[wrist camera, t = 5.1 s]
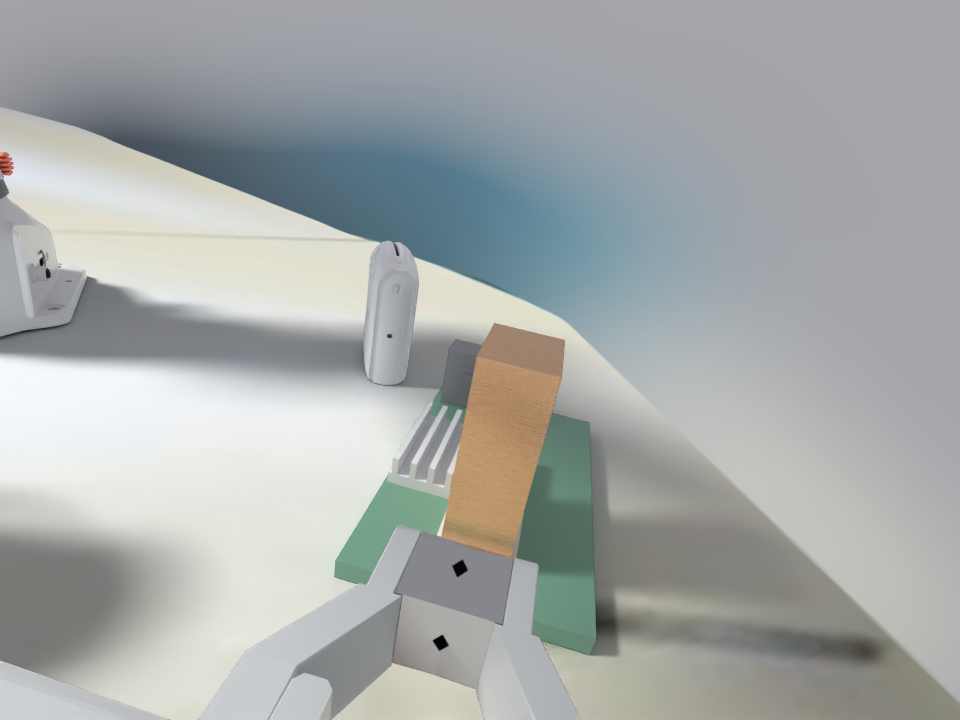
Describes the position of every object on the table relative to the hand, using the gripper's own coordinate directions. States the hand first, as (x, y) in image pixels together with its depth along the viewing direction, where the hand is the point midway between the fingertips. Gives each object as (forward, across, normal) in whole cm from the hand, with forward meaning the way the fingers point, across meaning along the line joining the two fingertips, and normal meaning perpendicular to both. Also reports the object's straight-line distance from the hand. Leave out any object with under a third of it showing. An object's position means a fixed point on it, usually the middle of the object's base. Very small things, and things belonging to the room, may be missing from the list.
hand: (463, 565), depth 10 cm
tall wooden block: (+18, 0, +13) cm, 22 cm away
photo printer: (+36, +15, +14) cm, 42 cm away
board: (+21, 0, +14) cm, 26 cm away
